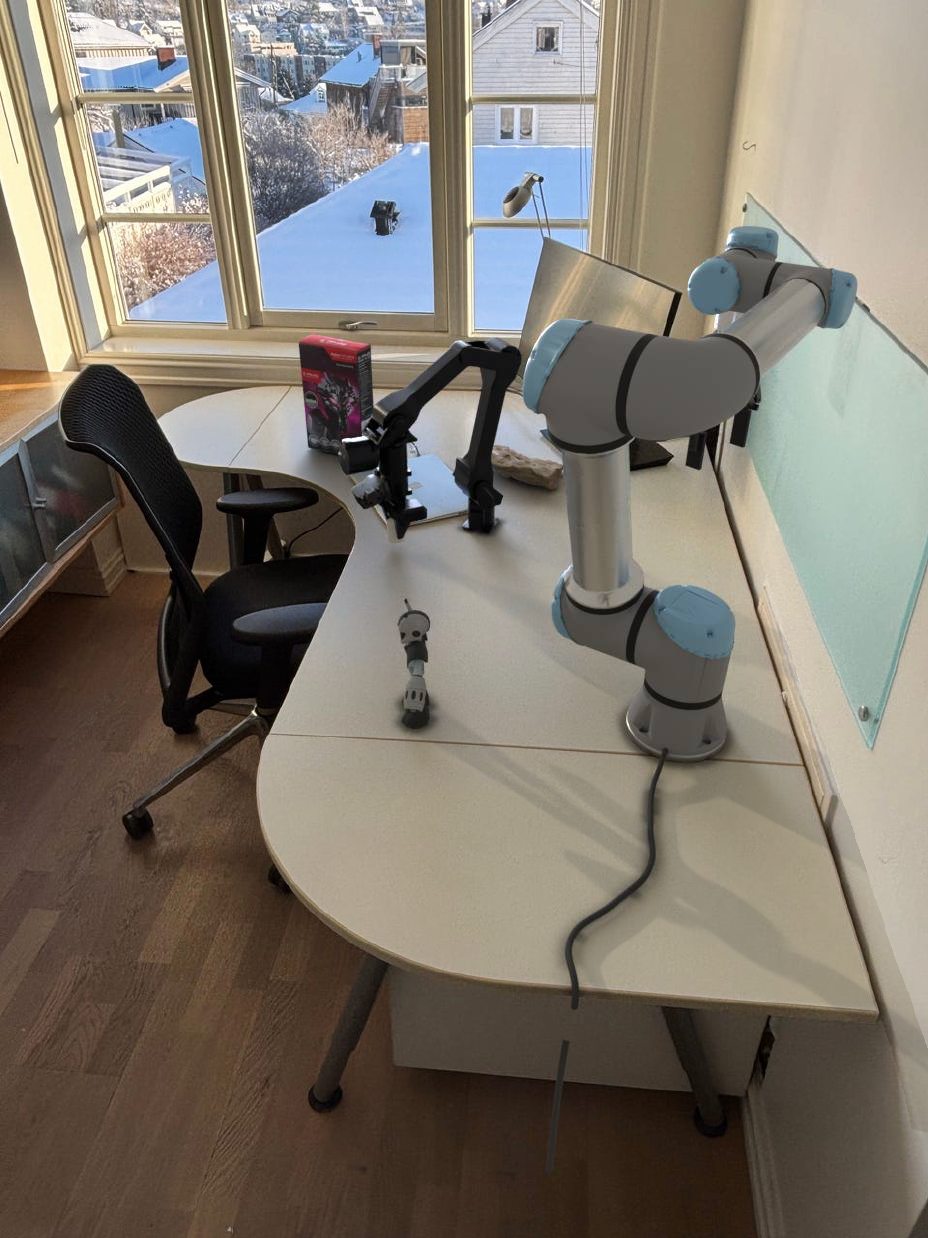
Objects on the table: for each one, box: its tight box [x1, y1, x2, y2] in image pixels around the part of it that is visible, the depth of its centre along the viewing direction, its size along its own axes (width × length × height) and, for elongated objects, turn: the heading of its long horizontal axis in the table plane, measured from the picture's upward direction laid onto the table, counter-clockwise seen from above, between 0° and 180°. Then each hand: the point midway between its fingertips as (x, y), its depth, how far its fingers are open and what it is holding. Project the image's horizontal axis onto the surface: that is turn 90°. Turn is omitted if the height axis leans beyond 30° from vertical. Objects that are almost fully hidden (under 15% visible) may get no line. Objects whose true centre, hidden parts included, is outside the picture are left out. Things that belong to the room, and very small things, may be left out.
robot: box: [396, 598, 431, 729], centre depth 141 cm, size 20×5×20 cm, turn 3°
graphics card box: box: [297, 333, 375, 455], centre depth 223 cm, size 17×7×27 cm, turn 62°
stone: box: [491, 444, 563, 490], centre depth 217 cm, size 21×15×6 cm
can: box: [385, 518, 406, 544], centre depth 189 cm, size 4×4×4 cm
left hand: (396, 534), depth 190 cm, fingers closed on can, 4 cm apart
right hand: (715, 456), depth 158 cm, fingers open, 13 cm apart
